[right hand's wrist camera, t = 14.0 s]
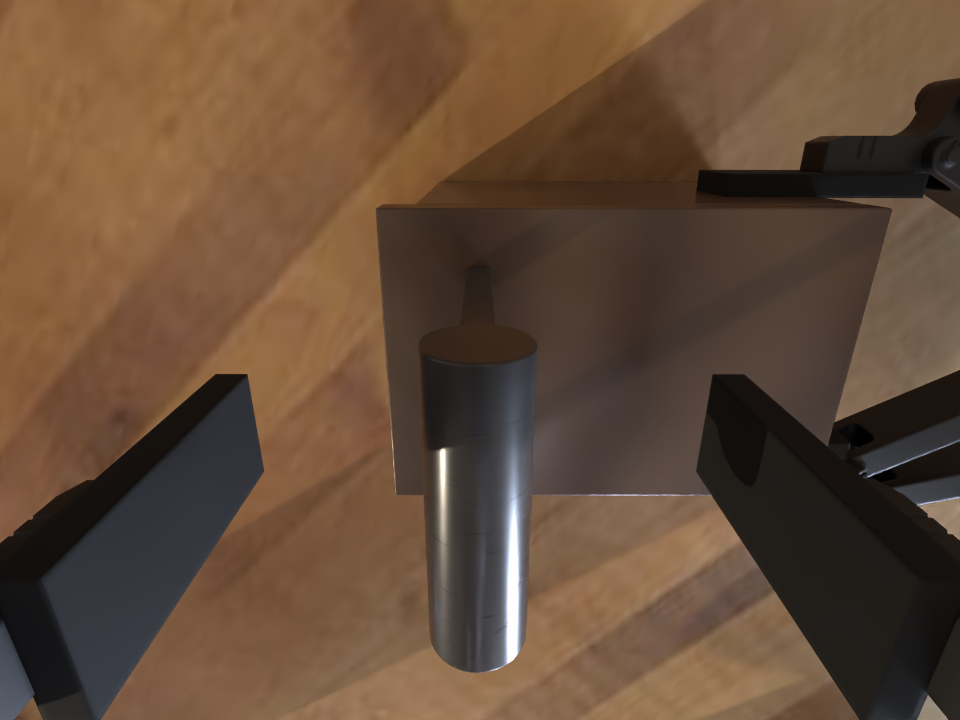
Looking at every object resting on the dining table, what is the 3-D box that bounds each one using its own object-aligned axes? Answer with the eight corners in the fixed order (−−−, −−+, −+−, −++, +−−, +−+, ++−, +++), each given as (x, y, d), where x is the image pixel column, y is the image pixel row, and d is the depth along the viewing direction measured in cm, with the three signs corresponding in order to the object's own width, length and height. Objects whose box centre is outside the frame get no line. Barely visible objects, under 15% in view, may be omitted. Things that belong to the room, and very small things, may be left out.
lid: (399, 478, 19) (339, 724, 11) (382, 204, 16) (274, 268, 8) (797, 478, 19) (1032, 726, 11) (867, 204, 16) (1285, 269, 8)
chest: (444, 366, 29) (425, 477, 19) (439, 181, 25) (414, 204, 16) (692, 366, 29) (797, 477, 19) (721, 181, 25) (866, 204, 16)
